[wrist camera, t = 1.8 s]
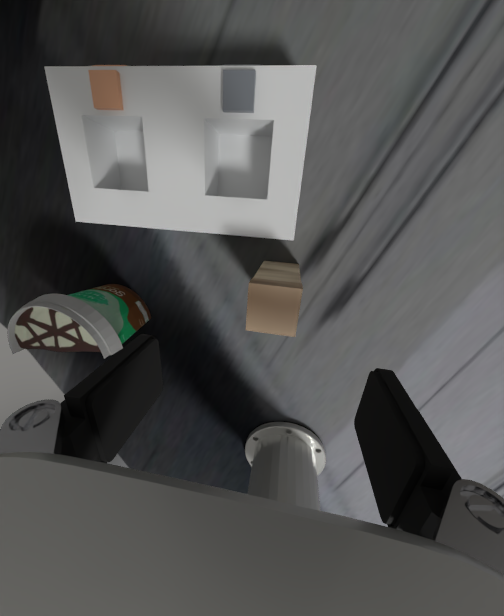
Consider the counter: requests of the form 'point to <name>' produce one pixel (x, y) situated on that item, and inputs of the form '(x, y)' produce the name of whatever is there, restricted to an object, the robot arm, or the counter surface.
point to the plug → (274, 299)
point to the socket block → (185, 145)
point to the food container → (79, 321)
